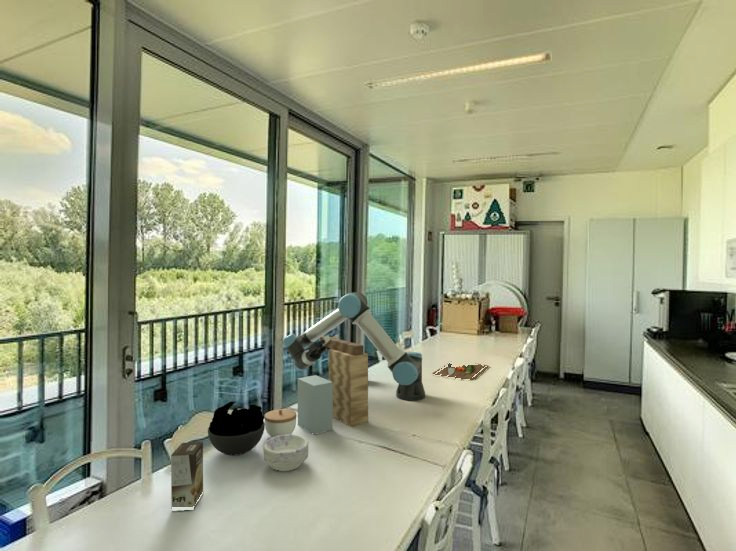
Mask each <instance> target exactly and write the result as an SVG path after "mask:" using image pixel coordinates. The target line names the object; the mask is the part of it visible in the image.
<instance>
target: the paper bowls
mask: <svg viewBox="0 0 736 551" xmlns="http://www.w3.org/2000/svg"><path fill="white" fill-rule="evenodd" d="M262 447H263V454H262V455H263V458H262V459H263V462H264V463H266V465H268V466H270V467H271V469H273V470H274V469H275V470H274V471H277V470H279V471H278V472H289V471H288V470H291V471H293V469H294V470H296V469H297V468H299V467H300V466H301V465H302V463H303V462H304V461H306V460H307V459H308V458H309V441H308V439H307V438H306V437H304V436H303V435H298V434H288V435H280V436H276V437H273V438H272V437H270V438H269V439H267V440H266V441H265V442H264V443H263V446H262Z"/></svg>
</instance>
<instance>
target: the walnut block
mask: <svg viewBox="0 0 736 551" xmlns="http://www.w3.org/2000/svg"><path fill="white" fill-rule="evenodd" d="M326 336H327V335H326ZM326 336H325V335H323V336H322V337H320V338H319V341H321V340H323V339H324V338H325V337H326ZM329 338H330V341H329V342H328V343H327V344H326V345H324V347H328V348H331V349H335V350H338V351H341V352H345V353H348V354H351V355H355V356H358V355H363V353H364V344H359V343H356V342H351V341H348V340H345V339H340V338H339V339H336V338H333V336H329ZM322 346H323V345H322Z"/></svg>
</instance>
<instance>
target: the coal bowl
mask: <svg viewBox="0 0 736 551" xmlns="http://www.w3.org/2000/svg"><path fill="white" fill-rule="evenodd" d="M235 403H237V401H229V402H227V403H225V404H224V405H222V406H220V407H217V408H216V410H214V412H213V417H212V418H211V422H210V423H209V426H208V428H207V435H208V438H209V441H210V444H211V445H212V446H213V447H214V448H215V450H217V451H218V452H220V453H221V454H222V455H225V456H226V455H227V456H234V457H235V456H240V455H244V454H247V453H248V452H250V451H251V450H253V449H254V448H256V446H257V445H258V444H259V443H260V441H261V439H262V437H263V435H264V433H265V432H264V431H265V429H266V428H265V419H264V415H263V412H262V409H263V408H262V407H261V406H259V405H256V404H250V405H249V408H246V407H245V408H243V407H241V408H239V409H238V408H234V409H233V410H232V411H231V413H229V410H230V409H231V408H232V406H233V405H234V404H235Z"/></svg>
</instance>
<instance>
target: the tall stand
mask: <svg viewBox="0 0 736 551" xmlns="http://www.w3.org/2000/svg"><path fill="white" fill-rule="evenodd" d="M328 380H329V381H331V382H333V419H336V420H338V421H340V420H341V421H342V423H343V422H344V424H345V423H346V425H347V424H348V425H347V426H349V425H350V426H349V427H351V426H352V427H355V426H358V425H362V423H363V424H366V423H369V353H366V352H363V355H358V356H355V355H351V354H348V353H345V352H341V351H338V350H335V349H331V350H329V351H328ZM341 421H340V422H341Z"/></svg>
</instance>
